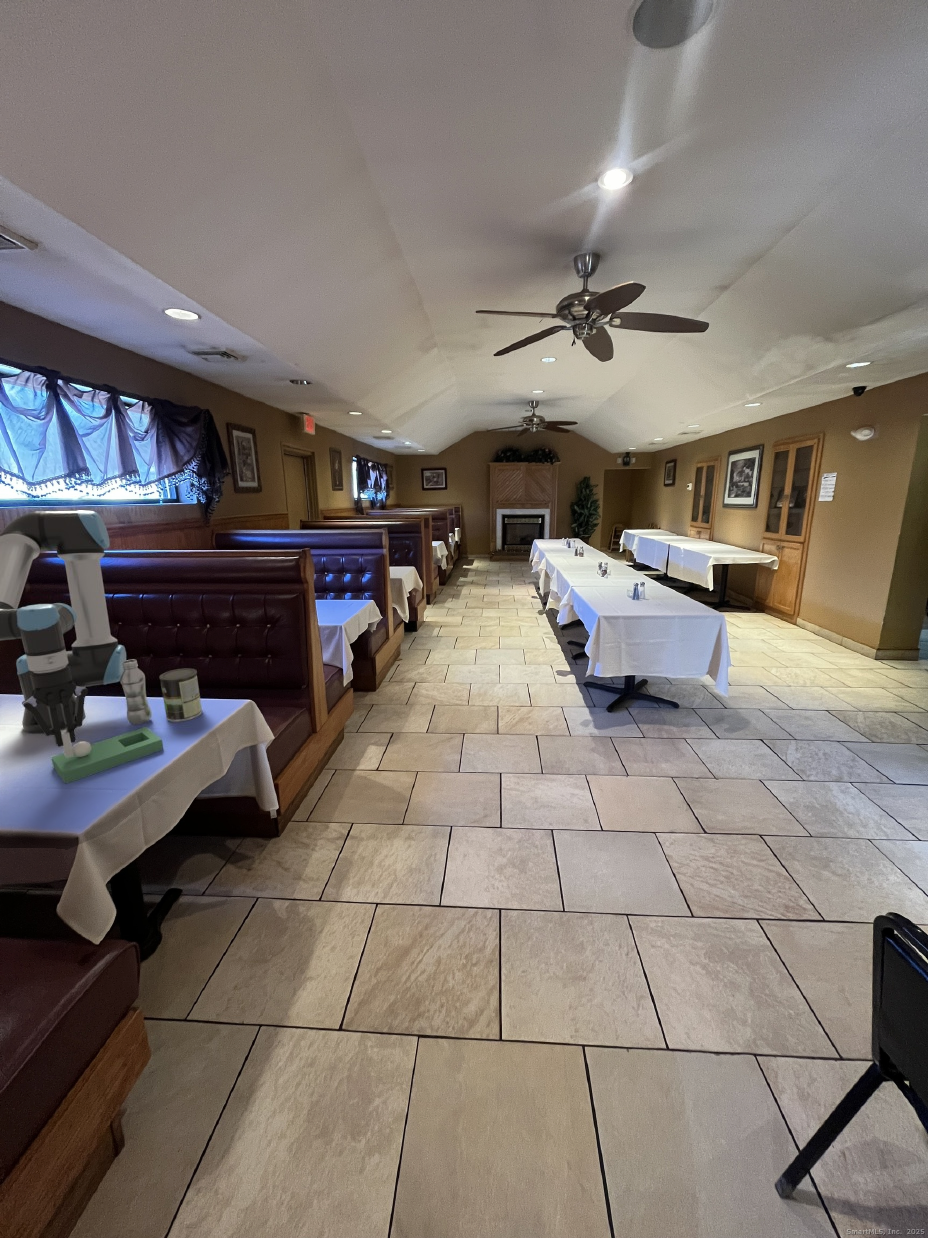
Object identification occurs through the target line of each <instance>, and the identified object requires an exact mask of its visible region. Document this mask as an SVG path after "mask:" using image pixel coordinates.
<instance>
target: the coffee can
mask: <svg viewBox="0 0 928 1238" xmlns="http://www.w3.org/2000/svg"><path fill="white" fill-rule="evenodd" d="M197 674H198V671H197V669H195V668H188V667H187V668H177V669H173V670H168V671H165V672H164V673H162V674H160V675H159V676H158V677H159V680H160V687H161V692H162V693H161V694H162V699H163V704H164V711H165V719H166V721H168V722H172V723H174V722H175V723H177V722H178V723H179V722H185V721H190V720H193V719H195V718H197V717H199V716H200V715H202V714H203V710H202V709H203V708H202V703H201V695H200V688H199V681H198V676H197Z"/></svg>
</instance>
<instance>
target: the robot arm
mask: <svg viewBox="0 0 928 1238" xmlns="http://www.w3.org/2000/svg"><path fill="white" fill-rule="evenodd" d="M110 545H111V543H110V537H109V533H108V530H107V527H106V524H105V522H104V520H103V518H102V516H101V515H100V514H99V513H97V512H96V511H94V510H93V511H92V510H80V509H77V510H76V509H75V510H47V511H43V510H38V511H31V512H27V513H24V514H22V515H20V516H19V517H17V518H15V519H13V520H12V521H10V522H9V523H8V524H7V525H6V526H5V527H4V528H3V529H2V530H1V531H0V641H6V640H7V641H8V640H9V641H10V640H16V639H21V641H22V644H23V648H24V653H25V654H23V655H22V656H20V657H19V658H17V659H16V663H15V664H16V669H17V671H16V673H17V676H18V680H19V684H20V687H21V691H22V696H23V699H24V700H23V701H21V705H22V706H23V707H24V712H23V716H22V721H21V722H22V724H21V725H22V728H23V731H24V732H26V733H29V734H30V733H32V734H40V733H41V734H42V733H44V735H46V736H48V737H49V736H54V740H55V744H56V746H57V747H62V750H63V751H62V752H63V753H64V755H65V756H66V758H70V757H73V756H74V753H73V749H72V748H73V745H72V744H73V743H75V742H76V741H77V738H76V735H75V730H76V729H77V728H80V727H81V726H83V720H84V718H85V717H86V713H85V708H84V707H85V699H86V696H87V694H88V692H89V690H88V688H86V687H92V686H100V685H107V684H113V683H118V682H121V681H120V678H121V675H122V673H123V672H124V670H125V669H123V662H124V661H127V651H126V648H125V646H124V645H122V644H119V643H118V641H119V640H118V639H117V638H116V637H114V636H113V635H111V628H110V622H109V615H108V609H107V602H106V595H105V587H104V582H103V580H104V579H103V574H102V568H101V567H102V566H101V561H100V560H101V559H102V558H103V557H104V556H105V549H106V550H108V549H109V548H110ZM45 551H49V552H50V551H56V555H57V557H58V558H60V559H61V560H62V561H63V562H64V565H65V571H66V577H67V583H68V584H67V585H68V590H69V598H70V604H71V605H68V604H66V603H61V602H56V603H38V604H31V605H26V606H22V607H19V604H20V601H21V598H22V596H23V595H22V594H23V591H24V588H25V586H26V582H27V580H28V576H29V574H30V569H31V567H32V563H33V560H34V559H36V558H38V557H39V556H40V553H41V552H45ZM18 607H19V608H18ZM73 627H74V628H75V629H74V630H75V634H76V640H75V641H74V642H73V643H72V644H71V650H68V651H67V650H66V644H65V640H64V634H65V633H67V632H68V631H70V630H72V628H73ZM74 692H75V693H74ZM65 728H66V729H65ZM62 729H64V730H62ZM76 743H77V742H76Z"/></svg>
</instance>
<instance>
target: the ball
mask: <svg viewBox="0 0 928 1238" xmlns="http://www.w3.org/2000/svg"><path fill="white" fill-rule="evenodd" d="M72 749H73V753H74V756H76V757H84V756H86V755H88V754H89V753H90V751H91V745H90V742H88V741H84V740H83V741H79V742H76V743H75V744H74V745H72Z"/></svg>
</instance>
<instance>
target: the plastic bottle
mask: <svg viewBox="0 0 928 1238" xmlns="http://www.w3.org/2000/svg"><path fill="white" fill-rule="evenodd" d="M138 666H139V665H138V661H137V659H128V660H127V659H126V661H124V662H123V669H125V670H124V672H123V673H122V675H121V678H120V681H119V682H120V684H121V686H122V689H123V693H124V695H125V700H126V701H125V702H126V719H127V721H128V722H129V724H131V725H142V724H145V723H147V722H149V721H150V720H151V718H152V709H151V707H150V705H149V702H148V698H147V691H146V676H145V673H144V672H143V671H142V670H141V669H140V668H138Z"/></svg>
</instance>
